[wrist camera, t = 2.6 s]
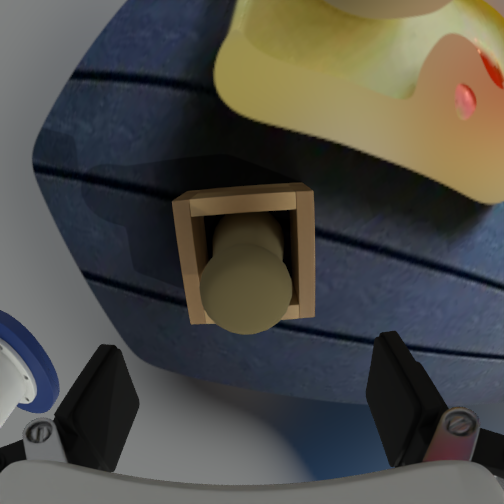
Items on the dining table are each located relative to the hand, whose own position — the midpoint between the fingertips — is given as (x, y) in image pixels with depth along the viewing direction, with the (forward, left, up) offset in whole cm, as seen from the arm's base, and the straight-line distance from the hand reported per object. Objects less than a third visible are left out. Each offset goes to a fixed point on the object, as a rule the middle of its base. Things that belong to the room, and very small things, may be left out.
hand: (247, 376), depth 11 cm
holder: (0, 0, -17) cm, 17 cm away
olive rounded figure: (0, 0, -17) cm, 17 cm away
